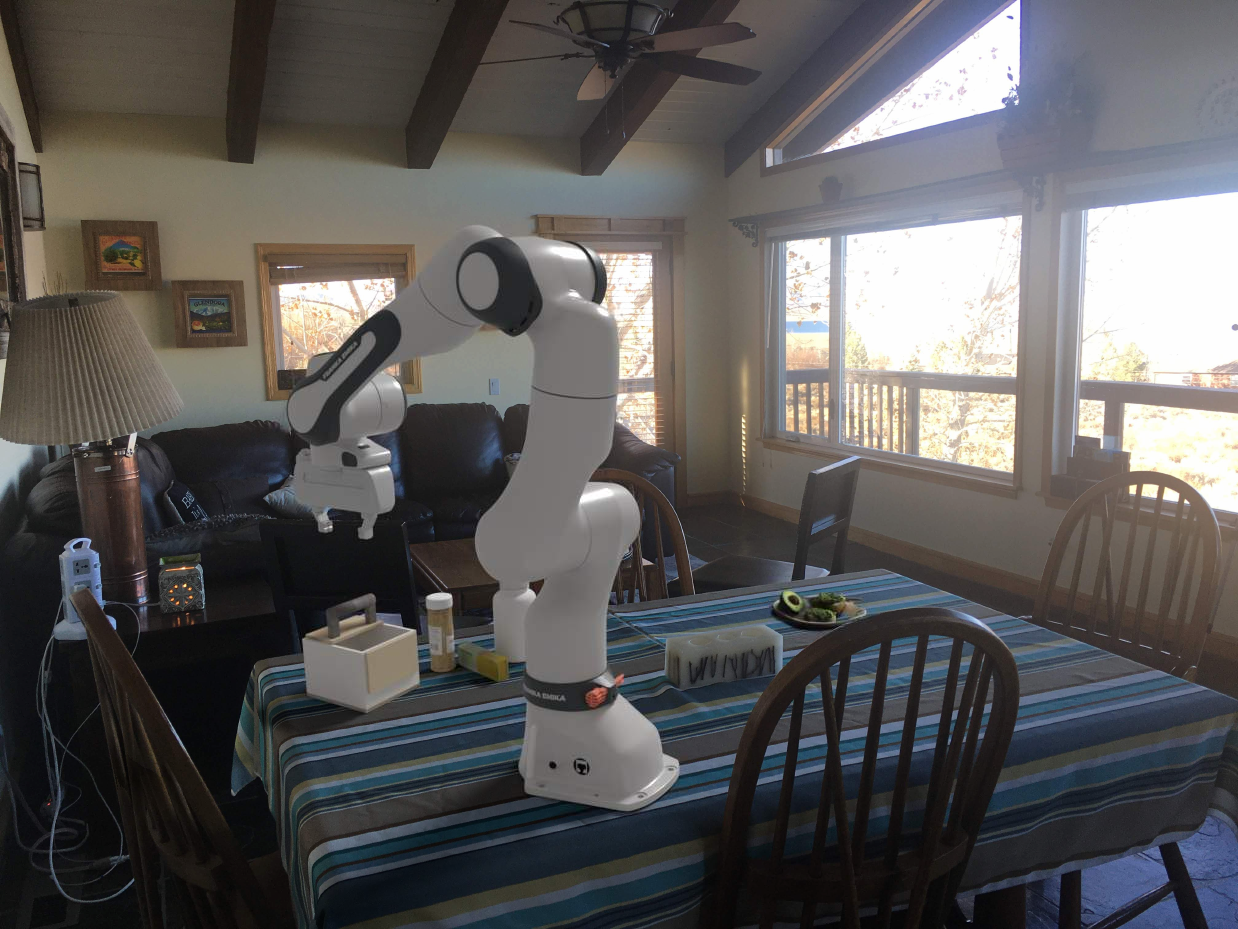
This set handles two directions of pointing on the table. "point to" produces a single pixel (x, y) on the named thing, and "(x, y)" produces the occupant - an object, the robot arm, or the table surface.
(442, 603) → the sprinkles bottle
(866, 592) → the table surface
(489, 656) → the medication box
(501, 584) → the pill bottle
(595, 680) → the robot arm
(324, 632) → the flap
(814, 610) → the salad plate
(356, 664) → the carton
